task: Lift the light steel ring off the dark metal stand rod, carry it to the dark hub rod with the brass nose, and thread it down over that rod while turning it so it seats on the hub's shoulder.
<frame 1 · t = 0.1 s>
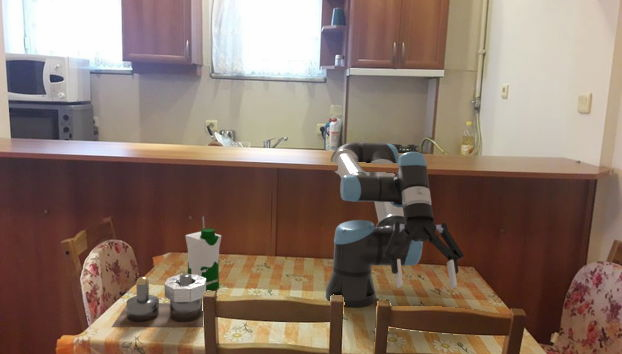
hand: (427, 286, 118), 15 cm above the table, tool tilted 35°, fingers open, 13 cm apart
milk carton: (202, 292, 147), on the table
hub post: (143, 315, 127), resting on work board
steel ring: (185, 293, 127), point 7 cm above the table, touching stand post
beverage cup: (205, 276, 160), on the table
stand post: (185, 315, 128), resting on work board
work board: (166, 319, 128), on the table
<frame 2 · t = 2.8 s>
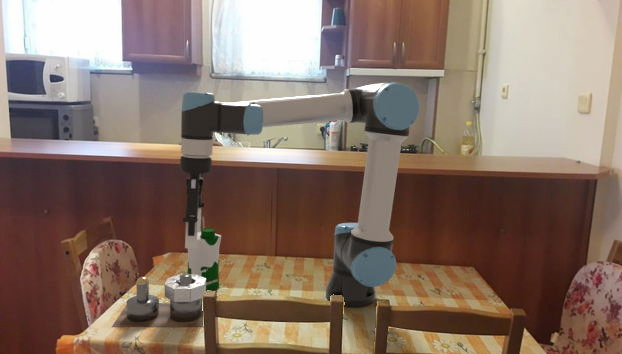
hand: (193, 239, 121), 23 cm above the table, tool pointing down, fingers open, 13 cm apart
nothing on the table moved.
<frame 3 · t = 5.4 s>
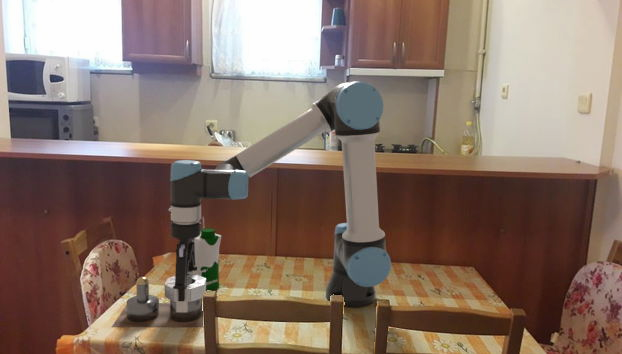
hand: (185, 302, 127), 5 cm above the table, tool pointing down, fingers closed on steel ring, 10 cm apart
steel ring: (185, 293, 127), point 8 cm above the table, touching gripper, stand post
everything else where it was.
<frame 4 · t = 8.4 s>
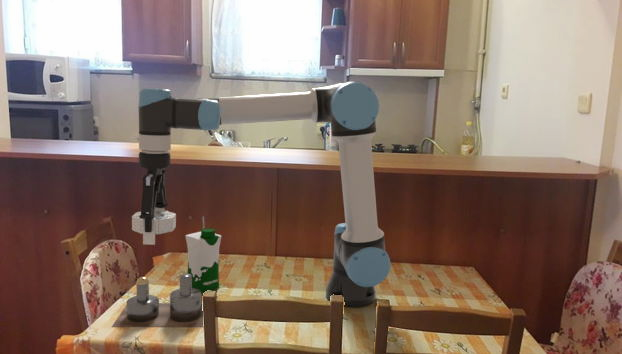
hand: (154, 237, 124), 23 cm above the table, tool pointing down, fingers closed on steel ring, 10 cm apart
steel ring: (154, 228, 123), point 25 cm above the table, touching gripper
everything else where it was.
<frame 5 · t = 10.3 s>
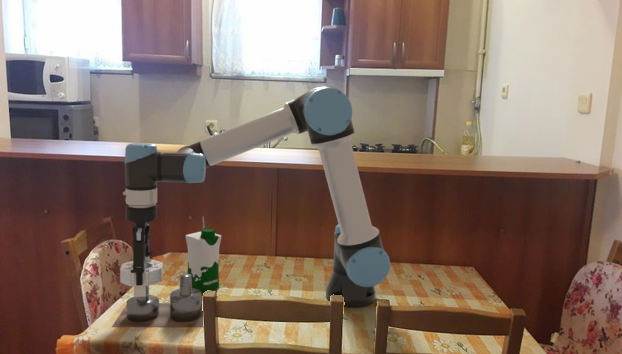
hand: (142, 287, 126), 9 cm above the table, tool pointing down, fingers closed on steel ring, 10 cm apart
steel ring: (142, 278, 125), point 12 cm above the table, touching gripper
everything else where it was.
when the fingers open (4 cm above the table, at t = 11.8 s): steel ring stays where it is, resting on hub post.
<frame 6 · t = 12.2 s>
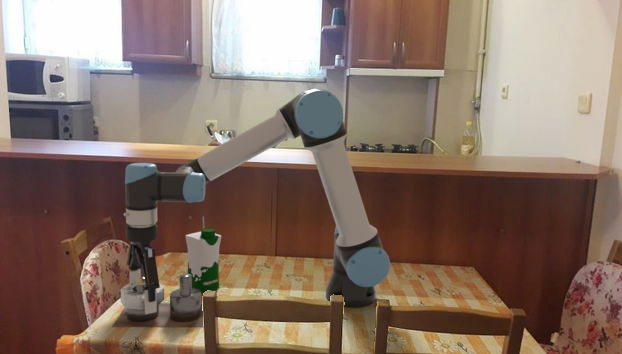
hand: (142, 302, 126), 5 cm above the table, tool pointing down, fingers open, 13 cm apart
steel ring: (142, 300, 126), point 5 cm above the table, touching hub post
everything else where it was.
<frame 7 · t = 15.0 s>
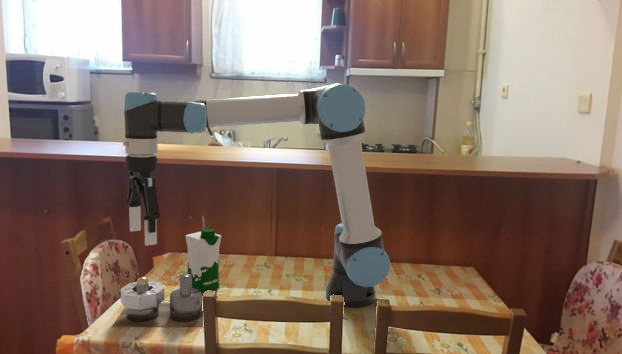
hand: (142, 237, 123), 23 cm above the table, tool pointing down, fingers open, 13 cm apart
nothing on the table moved.
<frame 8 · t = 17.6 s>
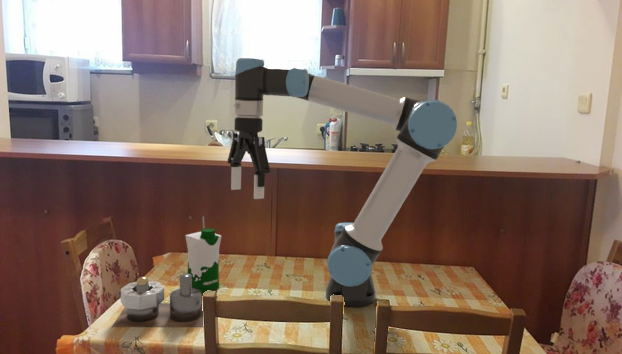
hand: (246, 193, 134), 33 cm above the table, tool pointing down, fingers open, 13 cm apart
nothing on the table moved.
at the end: steel ring 0.0 cm off-centre on the hub post, point 4.0 cm above the hub post's base; steel ring tilted 0°; the gripper is holding nothing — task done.
